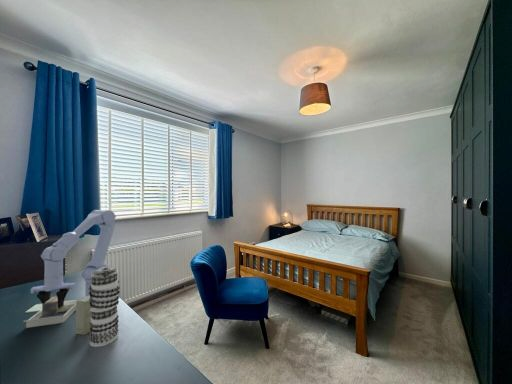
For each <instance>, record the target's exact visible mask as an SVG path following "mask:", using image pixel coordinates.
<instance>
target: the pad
mask: <svg viewBox="0 0 512 384" xmlns="http://www.w3.org/2000/svg"><path fill="white" fill-rule="evenodd" d="M40 310H42V303H37V304H35V305H33V306H32V307H30V308H29V309H27V310H26V311H25V312H24V313H25V314H28V313H38V312H39V311H40Z"/></svg>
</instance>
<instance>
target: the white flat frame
mask: <svg viewBox="0 0 512 384" xmlns="http://www.w3.org/2000/svg"><path fill="white" fill-rule="evenodd" d="M79 299H80V298H79ZM79 299H71V300H64V307H63V308H62V309H61V310H60V311H59V312H65V313H64V314H63V315H55V316H47V317H42V310H40V311H38V312H36V313H35V314H34V315H33V316H31V317H29V319H28V320H27V319H25V320H22V322H23V323H25V324H26V325H25V326H26V327H25V328H26V329H28V328H35V327H40V326H41V327H42V326H49V325H56V324H63V323H64V322H66V320H67V319H69V318H70V317H71V315H73V313H74V312H76V301H77V300H79ZM59 312H58V313H59Z"/></svg>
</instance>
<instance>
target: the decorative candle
mask: <svg viewBox="0 0 512 384" xmlns="http://www.w3.org/2000/svg"><path fill="white" fill-rule="evenodd" d="M118 273H119V270H118V269H116V267H114V266H108V267H103V268H99V269H97V270H96V271H95V273H93V274H92V275H91V276H92V284H91V286H90V288H89V290H90V292H89V294H90V298H89V300H90V303H89V304H90V306H91V308H90V310H91V311H92V317H91V323H90V332H89V333H88V335H89V338H88V340H89V345H90V346H91V347H93V348H96V347H97V348H99V347H100V348H101V347H104V346H106V345H108V344H111V343H113V342H114V341H115V340H116V339H117V338H118V337H119V317H120V316H119V315H118V313H119V312H118V305H119V302H120V301H119V299H120V296H119V294H120V288H121V287H120V286H119V285H118V284H119V283H120V280H119V278H118ZM91 288H92V289H91ZM91 292H92V293H91Z"/></svg>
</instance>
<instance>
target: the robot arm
mask: <svg viewBox="0 0 512 384" xmlns="http://www.w3.org/2000/svg"><path fill="white" fill-rule="evenodd" d="M116 217H117V216H116V214H115V212H114V211H112V210H110V209H108V210H107V209H93V210H92V211H91V212H90V213H89V214H88V215H87V217H86V218H85V219H84V220H83V221H82V222H81V223H79V225H78V226H77V227H76V228H75V229H74V230H73V231H68V232H66V233H63V234H61V235H62V236H61V237H60V238H59V239H58V240H57V241H56V242H53V243H52V245H51V246H49V247H46V248H45V249H44V250H43V251H42V253H41V254H40V258H41V259H42V260H43V264H44V275H43V277H44V279H43V280H44V285H38V286H33V287H31V288H30V294H34V293H38V294H36V298H38V300H39V301H40V302H41V304H44V303H45V302H46V301H48V300H49V299H51V294H52V291H57V292H55V295H56V296H57V298H58V308H60V307H62V306H63V302H64V301H65V299H66V297H67V294H68V293H69V291H70V290H74V289H75V288H76V285H77V284H76V282H64V277H63V276H64V259H65V258H66V257H67V255H68V252H69V250H71V248H72V247H73V246H75V245H76V244H77V243H78V242H79V241H80V237H81V236H82V235H83V234H84V233H85V232H87V231H88V230H89V229H90V228H91V227H93V226H94V225H95V226H96V225H97V226H98V227H99V228H100V233H99V236H98V239H97V242H96V246H95V249H94V252H93V255H92V258H91V260H90V261H89V262H87V263H86V266H85V267H84V269H83V270H82V271H81V277H82V279H83V280H84V282H85V284H84V285H85V286H84V287H85V288H84V289H85V292H84V293H85V296H84V297H86V296H88V295H90V294H89V292H90V290H89V288H90V286H91V284H92V276H91V275H92V274H93V273H95V271H96V270H97V269H99V268H103V267H109V265H108V264H107V262H106V258H107V253H108V251H109V247H110V244H111V241H112V237H113V234H114V231H115V221H116ZM91 289H92V288H91ZM91 293H92V292H91Z"/></svg>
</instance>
